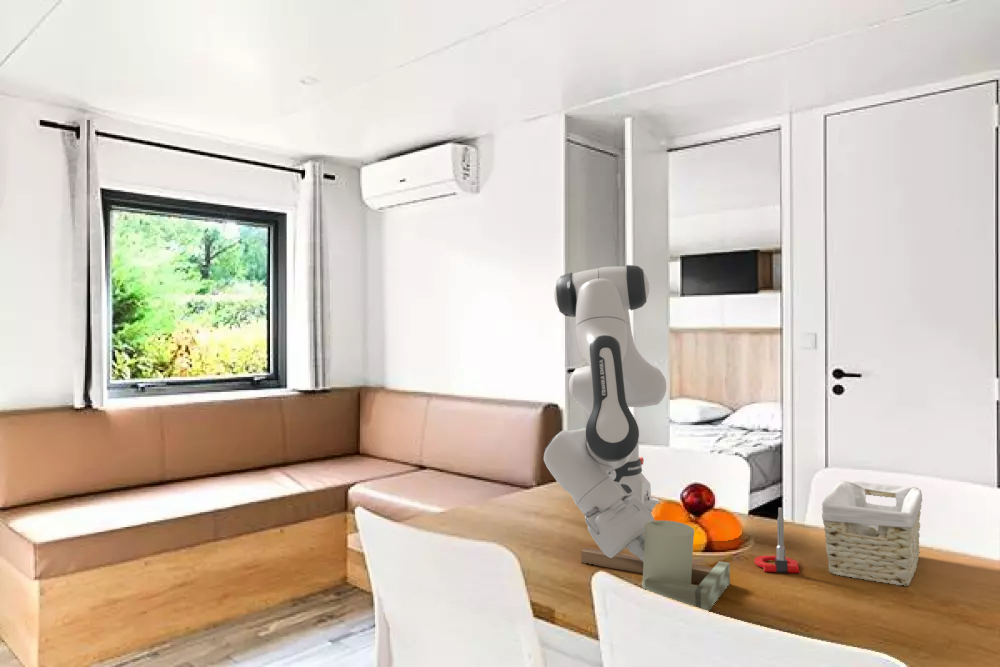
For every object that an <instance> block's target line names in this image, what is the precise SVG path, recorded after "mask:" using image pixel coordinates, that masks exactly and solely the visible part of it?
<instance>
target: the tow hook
mask: <svg viewBox="0 0 1000 667" xmlns="http://www.w3.org/2000/svg"><path fill="white" fill-rule="evenodd" d="M777 512H778V515H777V518H776V521H777V522H776V523H777V524H776V526H777V530H776V532H777V546H776V547H775V548H776V555H769V554H767V555H758V556H757V557H755V558H754V564H755V566H757V567H760V568H761V569H762V568H763V572H764V573H776V572H779V573H778V574H788V573H789V574H800V567H799V562H798V561H797V560H796V559H793V558H790V557H786V547H785V530H784V529H785V528H784V527H785V526H784V524H785V523H784V517H783V507H778V509H777ZM768 560H775V561H774V564H773V563H769V561H768ZM787 572H788V573H787Z"/></svg>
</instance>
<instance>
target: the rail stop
mask: <svg viewBox="0 0 1000 667" xmlns="http://www.w3.org/2000/svg"><path fill="white" fill-rule="evenodd" d="M581 562H583V563H582V564H586V563H589V564H588V565H591V564H594V565H593V566H597V565H598V566H599V567H602V568H603V567H604V568H610V569H615V570H621V571H628V572H633V573H638V574H643V566H644V563H643V561H642V560H641V559H640V558H639V557H637V556H636V555H634V554H629V553H628V554H627V553H623V552H619V553H618V554H617V555H615V556H614V557H612V558H609V557H608V556H606V555H605V554H604V553H603V552H602V550H601V549H598V548H591V547H585V548H583V549H582V550H580V563H581ZM730 566H731V565H730V562H726V561H719V560H718V562H717V563H716V565H714V567H709V566H703V565H696V564H692V574H691V581H692V582H691V584H686V583H681V582H675V581H669V580H663V579H658V578H652V577H648V578H647V579H646V580H645V589H646V590H649V591H652V592H654V593H657V594H660V595H663V596H666V597H668V598H672V599H675V600H677V601H680V602H683V603H686V604H689V605H693V606H696V607H699V608H702V609H705V610H708V611H709V612H710V611H711V610H712V608H713V607H714V606H715V604H716V603H717V602H718V601H719V599H720V598H719V597H721V596H722V595H723V594H724V593H725V591H726V590H727V588H728V587H729V586H730V584H731V580H730V579H731V576H730V574H731V571H730ZM695 582H697V583H696V584H692V583H695ZM697 584H698V585H697ZM727 586H728V587H727ZM645 589H644V590H645ZM725 589H726V590H725ZM724 590H725V591H724ZM722 593H723V594H722ZM721 594H722V595H721ZM718 598H719V599H718ZM716 601H717V602H716ZM715 602H716V603H715ZM714 603H715V604H714ZM713 605H714V606H713ZM712 606H713V607H712ZM711 607H712V608H711ZM710 609H711V610H710Z"/></svg>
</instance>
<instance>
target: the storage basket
mask: <svg viewBox="0 0 1000 667" xmlns="http://www.w3.org/2000/svg"><path fill="white" fill-rule="evenodd" d="M867 496H873V497H880V498H882V497H884V498H892V499H893V498H895V503H896V505H895V506H889V505H881V504H875V503H874V504H873V503H869V502H867V500H866V499H867V498H866V497H867ZM922 503H923V492H922V490H921V489H919V487H916V486H905V485H897V484H887V483H886V484H885V483H878V482H868V481H867V482H866V481H854V480H845V479H844V480H840V482H839V483H837V484H836V485H835V486H834V488H833V489H832V490H831V491H830V493H829V494H828V495H827V496H826V497H825V498H824V500H823V501H822V503H821V505H822V509H821V511H822V512H821V517H822V523H823V526H824V527H823V528H824V532H825V533H824V536H825V543H826V544H825V550H826V554H827V559H828V571H829V573H830V574H833V575H835V574H836V575H835V576H839V575H840V577H847V578H850V577H852V578H851V579H859V580H862V579H864V580H863V581H868V580H869V581H870V582H874V581H876V582H875V583H879V582H883V583H882V584H888V583H890V584H896V585H895V586H902V585H904V586H903V587H908V586H910V584H911V582H912V580H913V577H914V575H915V573H916V571H917V570H916V569H917V568H918V563H919V556H920V553H921V551H920V536H921V535H920V532H921V530H920V529H921V523H920V517H921V510H922ZM869 581H868V582H869ZM890 584H889V585H890Z"/></svg>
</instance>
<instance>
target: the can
mask: <svg viewBox="0 0 1000 667" xmlns="http://www.w3.org/2000/svg"><path fill="white" fill-rule="evenodd" d="M644 536H645V543H644V566H643V573H642V582H641V587H642V588H643V589H644V590H645V580H646V579H647V578H648V577H652V578H658V579H663V580H669V581H675V582H681V583H686V584H692V582H691V574H692V565H693V553H694V552H693V551H694V549H693V548H694V536H695V529H694V528H693V527H692V526H691V525H688V524H686V523H682V522H679V521H674V520H664V519H663V520H655V521H650V522H648V523H646V524H645V534H644Z"/></svg>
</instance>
